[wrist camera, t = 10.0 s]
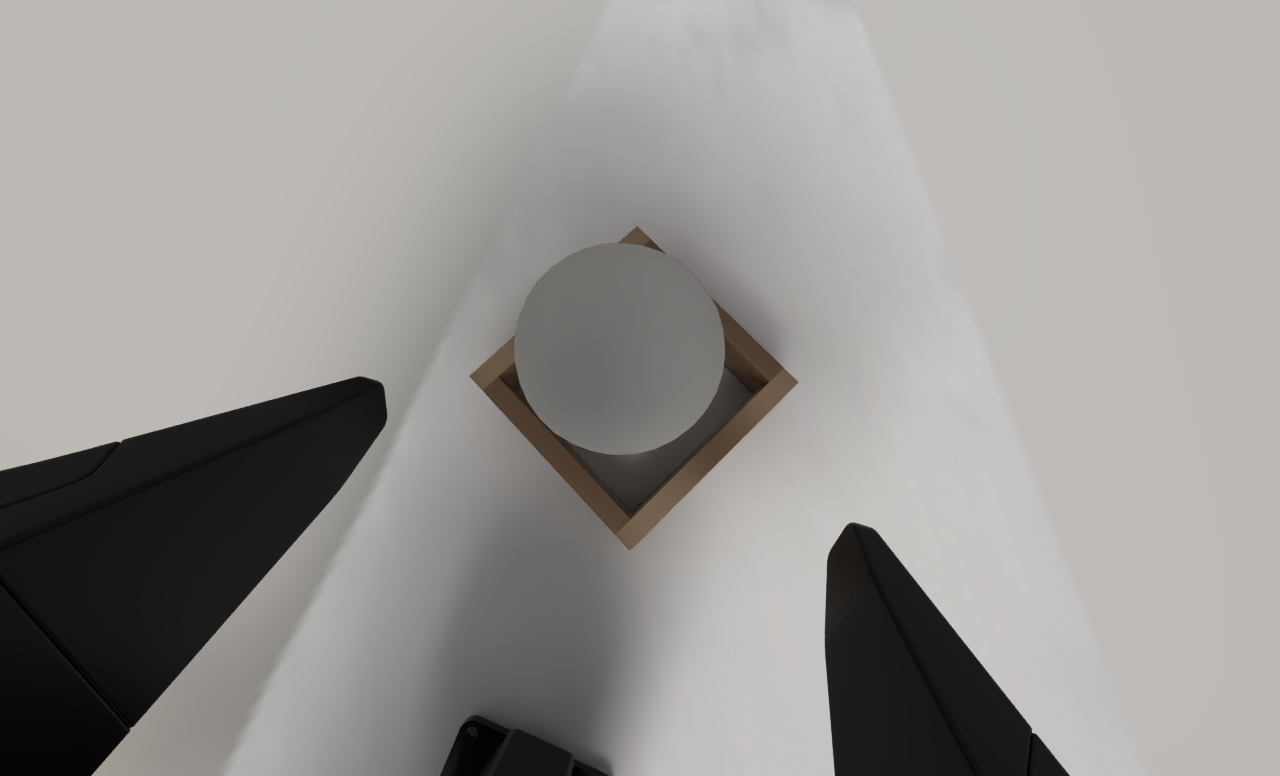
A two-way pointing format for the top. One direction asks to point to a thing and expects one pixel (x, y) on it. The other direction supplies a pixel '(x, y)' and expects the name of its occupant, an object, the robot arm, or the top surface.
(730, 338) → the frame
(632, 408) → the lightbulb
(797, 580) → the top surface
